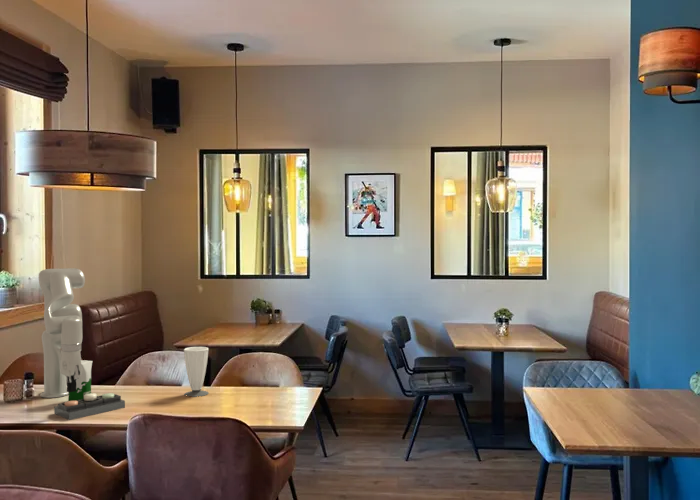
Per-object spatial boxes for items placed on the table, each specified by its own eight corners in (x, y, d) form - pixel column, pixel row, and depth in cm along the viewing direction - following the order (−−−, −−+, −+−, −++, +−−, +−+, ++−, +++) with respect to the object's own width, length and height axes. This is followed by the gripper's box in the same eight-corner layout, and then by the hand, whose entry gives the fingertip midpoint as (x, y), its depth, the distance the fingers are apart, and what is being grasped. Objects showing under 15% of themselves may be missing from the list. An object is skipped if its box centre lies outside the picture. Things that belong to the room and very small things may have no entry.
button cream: (81, 399, 252) (81, 394, 252) (93, 397, 256) (93, 392, 256) (87, 401, 249) (87, 396, 249) (98, 399, 253) (98, 394, 253)
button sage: (99, 399, 259) (99, 394, 259) (110, 397, 262) (110, 392, 262) (105, 401, 255) (105, 396, 255) (116, 399, 259) (116, 394, 259)
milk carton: (77, 398, 273) (77, 355, 273) (95, 399, 271) (94, 356, 271) (64, 403, 264) (64, 359, 264) (82, 404, 262) (82, 359, 262)
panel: (54, 413, 248) (54, 402, 248) (109, 402, 266) (109, 391, 266) (69, 420, 239) (69, 408, 239) (124, 407, 257) (124, 397, 257)
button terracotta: (62, 407, 246) (62, 402, 246) (74, 404, 250) (74, 399, 250) (68, 409, 243) (67, 404, 243) (80, 406, 247) (80, 401, 247)
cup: (213, 393, 282) (213, 347, 282) (195, 398, 273) (195, 351, 272) (197, 389, 289) (196, 345, 288) (178, 394, 279) (178, 349, 279)
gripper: (54, 346, 249) (54, 390, 249) (70, 351, 239) (70, 396, 239) (72, 344, 254) (72, 386, 255) (88, 348, 245) (88, 392, 245)
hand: (71, 391), depth 247 cm, fingers closed
